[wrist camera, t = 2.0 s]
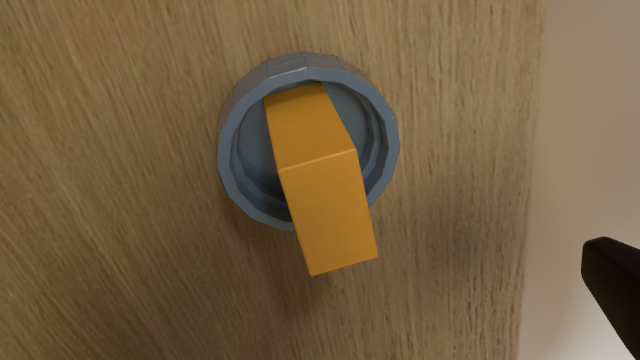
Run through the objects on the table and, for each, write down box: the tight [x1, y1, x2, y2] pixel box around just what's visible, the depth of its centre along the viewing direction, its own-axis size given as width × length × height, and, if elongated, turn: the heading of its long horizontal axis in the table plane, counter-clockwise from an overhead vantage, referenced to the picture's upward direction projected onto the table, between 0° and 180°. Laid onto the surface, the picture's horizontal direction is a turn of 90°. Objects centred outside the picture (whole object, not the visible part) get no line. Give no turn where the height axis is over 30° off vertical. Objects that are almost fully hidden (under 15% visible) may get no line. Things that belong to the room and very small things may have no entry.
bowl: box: [217, 51, 400, 231], centre depth 17 cm, size 6×6×2 cm
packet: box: [262, 81, 378, 276], centre depth 15 cm, size 2×4×5 cm, turn 13°
